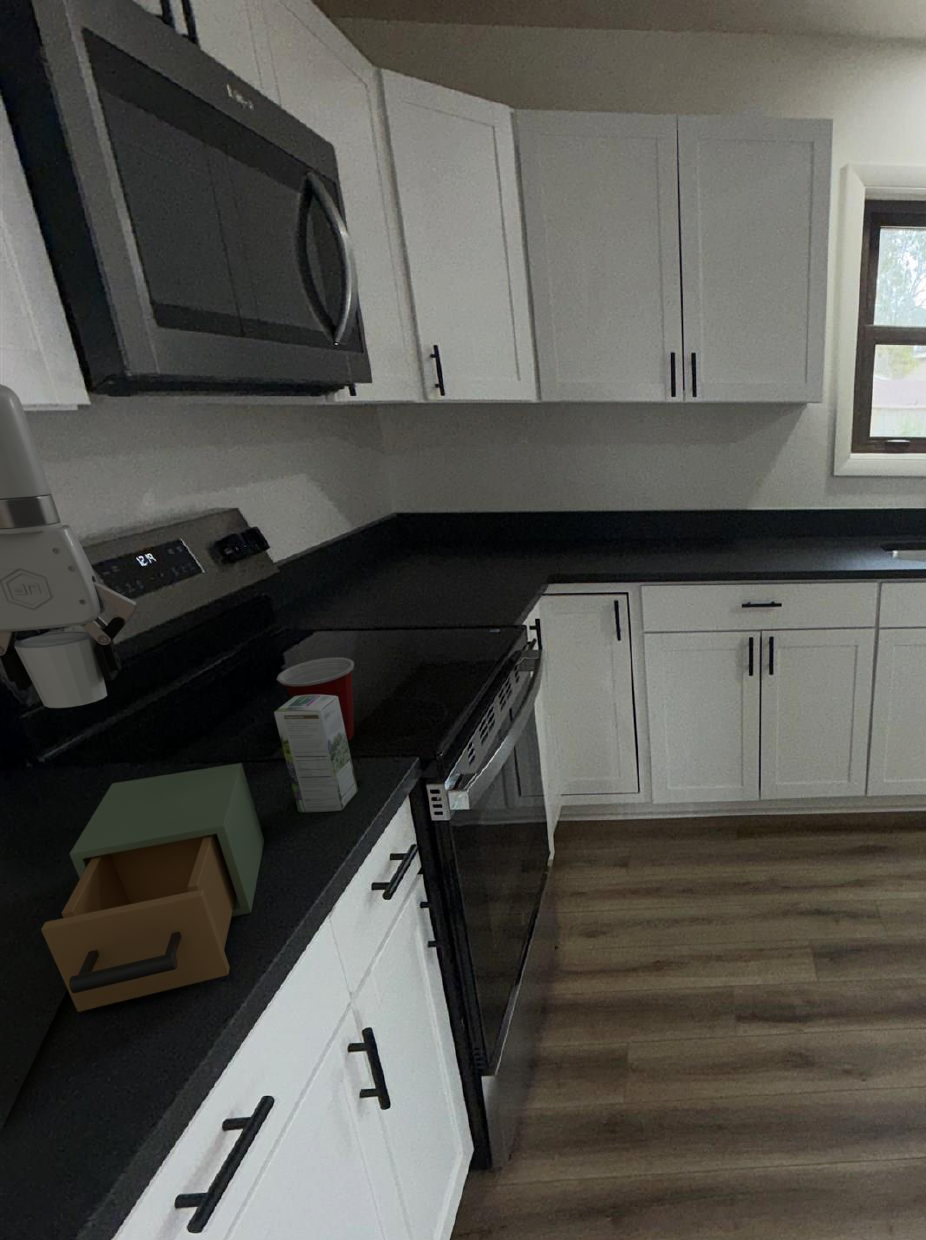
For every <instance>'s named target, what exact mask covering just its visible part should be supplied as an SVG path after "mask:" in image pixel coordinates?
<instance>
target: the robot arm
mask: <svg viewBox="0 0 926 1240" xmlns="http://www.w3.org/2000/svg"><path fill="white" fill-rule="evenodd" d="M37 449H38V448H37V446H36V443H35V440H34V437H33V433H32V431H31V427H30V425H29V421H28V419H27V416H26V413H25V410H24V407H23V405H22V402H21V399H20V397H19V396H18V395H17V393H16V392H15V391H14V390H13V389H12V388H11V387H8V386H7V385H5V384H1V383H0V661H1V664H2V667H3V669H4V672H5V674H6V677H7V679H8V681H9V683H15V686H16V689H17V690H18V691H19V692H21V691H26V690H28V689H29V688H30V687H31V686H32V685H34V684H33V682H32V680H31V678H30V676H29V675H28V673H27V671H26V669H25V667H24V665H23V663H22V661H21V659H20V657H19V655H18V653H17V651H16V649H15V647H14V644H15V643H16V642H17V638H18V633H19V632H22V631H24V632H25V631H33V630H45V629H56V628H67V627H75V626H80V627H81V628H82V629H83V630H84V631H85V632H88V633H89V634H90V635H91V636H92V637H93V638H94V639H95V642H96V645H95V646H94V652H95V655H96V658H97V661H98V664H99V666H100V669H101V672H102V675H103V678H104V681H107V682H108V681H113V680H115V678H116V677H117V676H118V674H119V671H121V670H122V662H121V660H120V657H119V654H118V651H117V648H116V645H115V641H114V639H115V638H116V637H117V636H118V634H119V633H120V632H121V630H122V629H123V628H124V627H125V625H127V623H128V621H129V620H130V618H131V617H132V616H133V614H134V613H135V611H136V609H138V603H137V601H135V600H132V599H130V598H129V597H127V596H125V595H123V594H121V593H118V592H117V591H116V590H115V591H114V590H113V589H111V588H109V587H107V586H105V585H103V584H101V583H99V581H98V579H97V576H96V574H95V572H94V569H93V567H92V565H91V562H90V561H89V558H88V557H87V555H86V552H85V551H84V549H83V546H82V544H81V542H80V541H79V539H78V538H77V535H76V534H75V532H74V530H73V529H72V528H71V525H69V524H62V521H61V518H60V515H59V512H58V510H57V505H56V502H55V500H54V497H53V494H52V490H51V488H50V484H49V482H48V479H47V476H46V473H45V470H44V467H43V464H42V460H41V458H40V455H39V451H38V450H37ZM106 604H108V605H110V606H112V607H114V608H115V609H116V612H115V614H114V615H113V617H112V619H110V621H109V622H108V623H107V622H106V621H105V620H104V619H103V618H102V617H101V616H100V615H101V614H102V613H104V612H105V611H106Z"/></svg>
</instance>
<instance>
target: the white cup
mask: <svg viewBox="0 0 926 1240" xmlns="http://www.w3.org/2000/svg"><path fill="white" fill-rule="evenodd" d="M95 645H96V642H95V639H94V638H93V637H92V636H91V635H90V634H89V633H88V632H87V631H86V630H83V631H82V630H81V631H80V630H79V631H78V630H74V631H61V632H60V631H59V632H54V633H53V632H52V633H45V634H39V635H35V636H31V637H28V638H27V637H26V638H23V639H21V640H19V641H16V642H15V644H14V647H15V649H16V651H17V653H18V655H19V657H20V659H21V661H22V663H23V665H24V667H25V669H26V671H27V673H28V675H29V676H30V678H31V680H32V682H33V684H32V685H33V686H34V688H35V690H36V692H37V694H38V697H39V698H40V700H41V702H42V705H43V706H44V707H47V708H50V709H63V708H73V707H79V706H84V705H88V704H92V703H96V702H98V701H100V700H103V699H105V698H106V697H107V696H108V692H107V686H106V682H105V680H104V678H103V675H102V672H101V669H100V666H99V664H98V661H97V658H96V655H95V652H94V646H95Z"/></svg>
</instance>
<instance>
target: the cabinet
mask: <svg viewBox="0 0 926 1240" xmlns="http://www.w3.org/2000/svg"><path fill="white" fill-rule="evenodd" d="M213 834H217V836H218V839H219V842H220V846H221V849H222V852H223V855H224V858H225V861H226V864H227V868H228V871H229V874H230V877H231V880H232V883H233V886H234V890H235V893H236V898H235V903H234V907H233V912H232V916H231V918H235V917H238V916H243V915H248V914H251V913H252V909H253V904H254V898H255V893H256V889H257V882H258V876H259V872H260V871H259V870H260V865H261V860H262V855H263V850H264V845H265V839H264V836H263V831H262V828H261V824H260V821H259V817H258V814H257V810H256V807H255V804H254V800H253V798H252V793H251V791H250V787H249V783H248V780H247V777H246V774H245V770H244V766H243V764H242V762H239V763H233V764H232V763H231V764H227V765H219V766H214V767H208V768H201V769H195V770H189V771H183V772H175V773H170V774H163V775H157V776H151V777H145V778H139V779H133V780H125V781H119V782H114V783H113V782H112V783H111V785H110V786H109V788H108V789H107V791H106V793H105V795H104V796H103V797H102V800H101V801H100V803H99V804H98V806H97V807H96V810H95V811H94V813H93V814H92V816H91V817H90V819H89V821H88V823H87V824H86V826H85V827H84V830H83V831H82V832H81V834H80V836H79V838H78V839H77V840H76V842H75V844H74V846H73V847H72V848H71V850H70V852H69V856H70V858H71V861H72V864H73V866H74V868H75V871H76V874H77V876H78V878H79V880H80V879H81V877H82V875H83V873H84V871H85V870H86V868H87V866H88V864H89V862H90V861H91V859H92V857H94V856H100V855H105V854H111V853H116V852H121V851H127V850H132V849H137V848H143V847H148V846H153V845H159V844H164V843H170V842H175V841H180V840H186V839H191V838H196V837H202V836H207V835H213Z"/></svg>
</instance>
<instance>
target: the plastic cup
mask: <svg viewBox="0 0 926 1240" xmlns="http://www.w3.org/2000/svg"><path fill="white" fill-rule="evenodd" d="M354 666H355V661H354V660H352V659H350V658H347V657H340V656H339V657H324V658H317V659H311V660H309V661H305V662H301V663H298V664H295V665H293V666H290V667H288V668H286V669H284V670H282V671H281V672H280V673H279V674H277V678H276V681H278V683H280V684H281V685H282V686H283V687H284V688H285V690H286V691H287V693H288V694H289V696H290V697H291V699H292V698H293V697H294V696H301V695H332V696H337V697H338V699H339V704H340V709H341V713H342V718H343V723H344V727H345V732H346V737H347V741H350V740H352V739H353V738H354V731H355V730H354V728H355V727H354V695H353V670H354Z"/></svg>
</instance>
